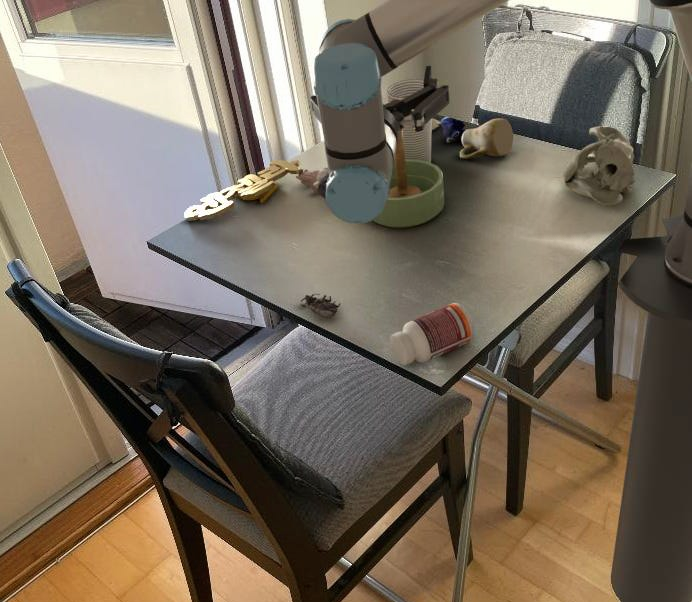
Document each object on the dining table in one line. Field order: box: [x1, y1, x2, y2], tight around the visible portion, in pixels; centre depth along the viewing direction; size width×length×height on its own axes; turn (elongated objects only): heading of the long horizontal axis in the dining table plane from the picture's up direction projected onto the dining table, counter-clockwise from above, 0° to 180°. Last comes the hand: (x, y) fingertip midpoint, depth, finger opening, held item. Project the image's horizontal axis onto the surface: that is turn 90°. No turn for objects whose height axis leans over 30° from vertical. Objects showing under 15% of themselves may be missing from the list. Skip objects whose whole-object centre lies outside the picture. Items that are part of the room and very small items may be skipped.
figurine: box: [295, 167, 329, 199], centre depth 154 cm, size 10×6×15 cm
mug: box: [459, 117, 514, 160], centre depth 158 cm, size 8×10×10 cm
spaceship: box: [440, 115, 467, 144], centre depth 164 cm, size 7×6×5 cm
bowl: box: [372, 159, 445, 228], centre depth 146 cm, size 14×14×6 cm
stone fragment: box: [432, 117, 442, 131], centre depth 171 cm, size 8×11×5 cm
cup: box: [386, 78, 433, 163], centre depth 155 cm, size 8×8×16 cm
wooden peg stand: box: [388, 99, 421, 198], centre depth 141 cm, size 6×6×20 cm
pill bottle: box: [389, 302, 475, 366], centre depth 115 cm, size 6×6×11 cm
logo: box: [237, 182, 279, 204], centre depth 160 cm, size 7×1×8 cm
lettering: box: [184, 159, 301, 222], centre depth 158 cm, size 25×10×1 cm, turn 122°
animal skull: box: [562, 125, 636, 206], centre depth 142 cm, size 18×12×13 cm
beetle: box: [300, 293, 341, 318], centre depth 127 cm, size 4×7×3 cm, turn 29°
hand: (384, 78), depth 123 cm, fingers open, 13 cm apart
